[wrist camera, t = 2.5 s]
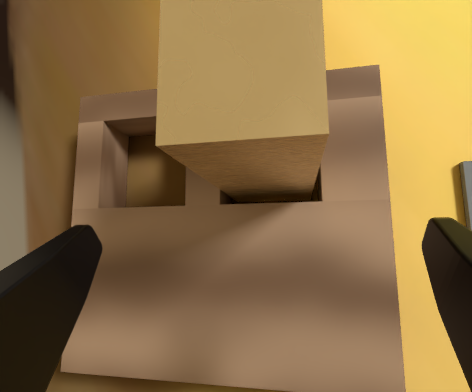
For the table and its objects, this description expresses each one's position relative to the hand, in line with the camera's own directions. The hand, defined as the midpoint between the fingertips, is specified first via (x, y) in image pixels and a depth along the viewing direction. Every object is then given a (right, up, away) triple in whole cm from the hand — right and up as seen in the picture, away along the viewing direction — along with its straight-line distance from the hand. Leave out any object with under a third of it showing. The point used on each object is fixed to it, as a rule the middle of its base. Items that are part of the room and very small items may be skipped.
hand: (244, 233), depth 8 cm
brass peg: (+2, +3, +12) cm, 12 cm away
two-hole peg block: (-1, -1, +12) cm, 12 cm away
